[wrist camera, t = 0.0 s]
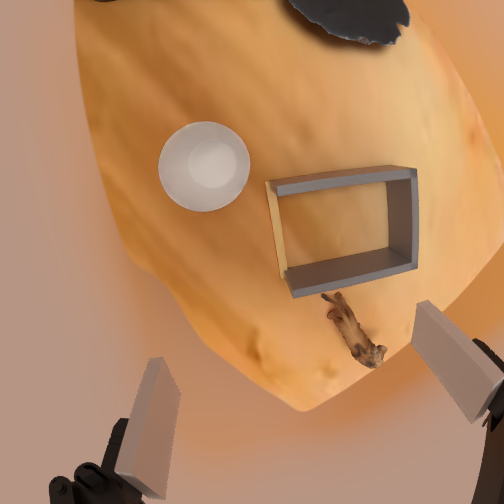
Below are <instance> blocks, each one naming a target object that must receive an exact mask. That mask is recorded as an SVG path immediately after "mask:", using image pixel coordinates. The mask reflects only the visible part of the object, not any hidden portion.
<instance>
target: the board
mask: <svg viewBox="0 0 504 504" xmlns="http://www.w3.org/2000/svg"><path fill="white" fill-rule="evenodd" d="M288 1H289V2H290V3H291V4H292V5H293V7H294V8H296V9H297V10H298V11H300V13H302V14H303V15H304V16H305V17H306V18H307V19H308V20H309V21H310V22H312V23H316V24H318V25H320V26H322V27H323V28H324V29H325V30H326V31H327V32H328V34H332V35H334V36H337V37H339V38H342V39H346V40H356V41H357V42H360V43H363V44H366V45H370V44H371V43H372V42H377V43H380V44H381V45H383V46H387V45H391V44H396V41H397V39H398V38H399V37H400V36H401V34H400V32H399V30H398V28H397V24H398V23H399V24H402V25H404V26H405V27H408V26H409V24H410V18H411V17H410V13H409V11H408V8H407V6H406V5H405V3H404V1H403V0H288Z"/></svg>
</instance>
